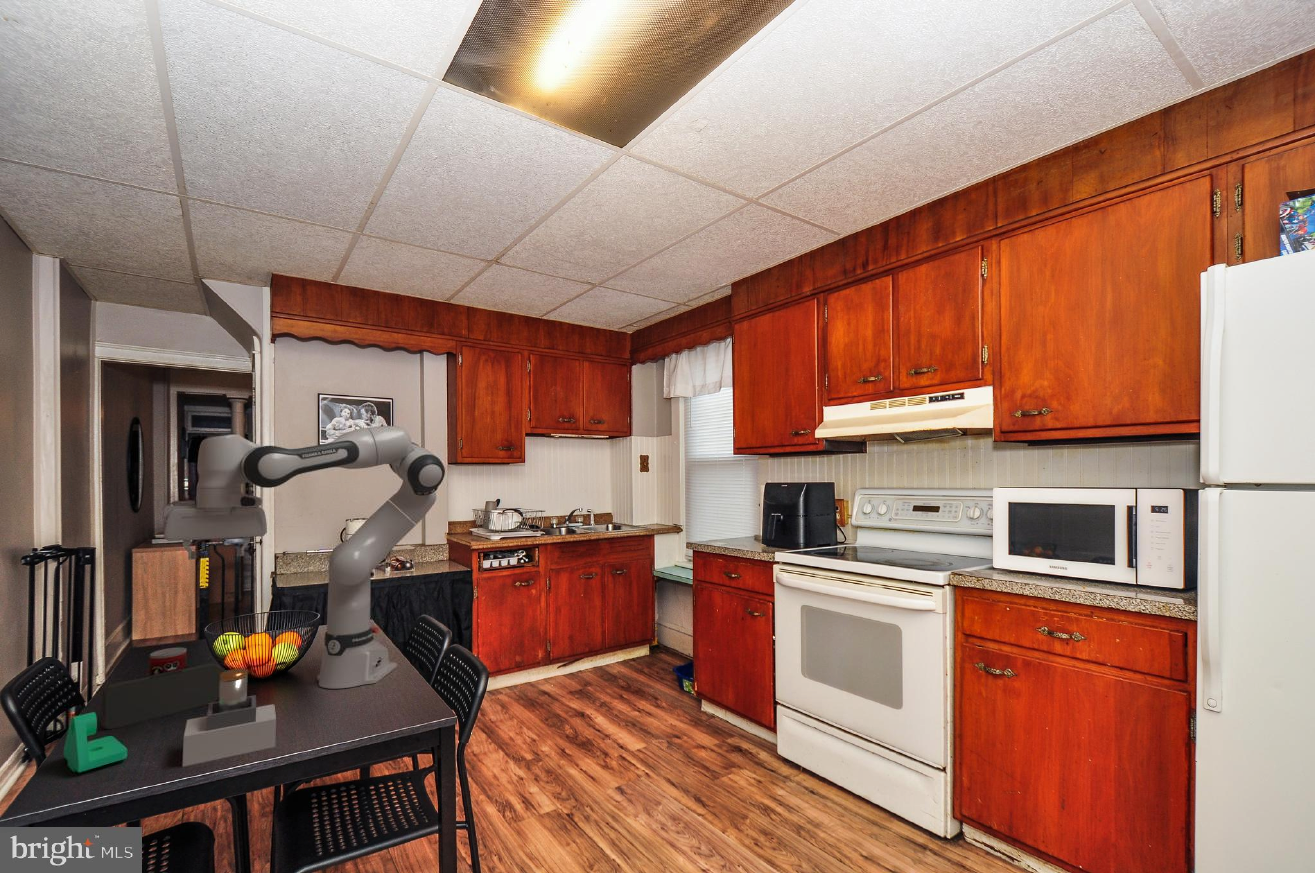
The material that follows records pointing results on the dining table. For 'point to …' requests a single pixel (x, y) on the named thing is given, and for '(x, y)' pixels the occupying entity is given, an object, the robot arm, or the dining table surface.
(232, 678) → the glass jar
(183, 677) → the handheld gaming console
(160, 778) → the dining table surface
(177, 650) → the canned food
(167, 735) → the dining table surface
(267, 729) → the grey pedestal block
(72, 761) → the camera mount
